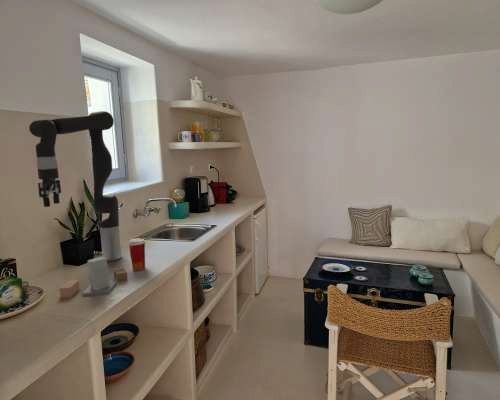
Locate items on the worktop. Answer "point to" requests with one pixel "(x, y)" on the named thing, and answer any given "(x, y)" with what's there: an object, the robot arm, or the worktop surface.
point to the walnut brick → (120, 274)
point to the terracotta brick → (69, 288)
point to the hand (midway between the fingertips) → (52, 205)
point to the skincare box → (98, 273)
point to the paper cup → (137, 253)
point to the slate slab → (99, 292)
